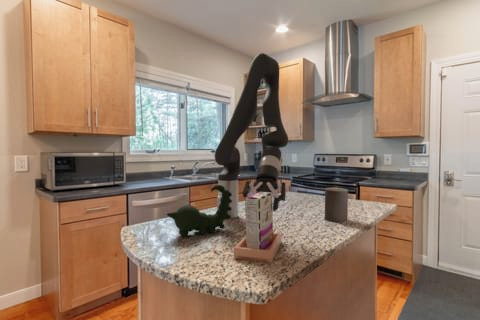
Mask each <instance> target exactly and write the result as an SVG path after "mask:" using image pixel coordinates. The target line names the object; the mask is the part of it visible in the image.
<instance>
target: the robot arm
mask: <svg viewBox="0 0 480 320" xmlns="http://www.w3.org/2000/svg"><path fill="white" fill-rule="evenodd" d="M262 80H263V81H264V84H265V90H266V91H265V95H264V99H263V101H262V115H263V117H262V118H263V124H264V126H265V127H267V128H275V129H276V130H273V131H270V132H265V133H264V134H263V135H262V137H261V144H262V156H261V159H260V162H259V165H258V169H257V174H256V177H255V181H254V182H250V181H249V180H247V181H246V182H245V185H244V187H243V190H242V196H243V198H244V199H245V197H248V196H250V195H253V194H255V193H258V192H271V193H272V199H273V201H272V212H276V211H277V210H278V209H279V205H280V202H281V201H283V202H284V201H286V194H287V192H286V191H287V186H286V182H284V181H283V182H281V183H278V180H279V175H280V168H281V158H282V151H281V149H280V148H286V146H288V143H289V136H288V133H287V132H286V129H285V127H284V124H283V121H282V116H281V110H280V109H281V108H280V97H279V95H280V92H279V91H280V64H279V62H278V61H277V60H276V59H274V57H271V56H269V55H267V54H266V53H263V52H260V53H258V54H257V55H256V56H254V58H253V60H252V61H251V64H250V66H249V69H248V73H247V76H246V80H245V83H244V86H243V89H242V91H241V94H240V95H239V96H240V97H239V99H238V101H237V104H236V106H235V108H234V110H233V113H232V116H231V119H230V120H229V123H228V124H227V127H226V130H225V132H224V134H223V136H222V138H221V140H220V142H219V144H218V145H217V148H216V150H215V152H214V160H215V163H216V164H217V165H219V166H223V168H222V171H220V173H218V174H217V175H218V177H217V179H218V184H217V185H222V186H223V187H224V188H225V190H228V191H229V192H230V193H232V196H230V197H229V198H230V199H231V200H232V202H231V203H229V207H231V208H232V210H230V211H229V210H228V215H230V216H231V218H230V219H235V218H238V217H239V175H240V172H241V171H240V170H241V153H240V150H239V148H238V147H236V145H237V143H238V141H239V139H240V138H241V136H243V134H244V133H246V131H247V130H248V129H249V128H250V126H251V125H252V123H253V120H254V118H255V116H256V114H257V112H258V111H257V110H258V90H259V87H260V85H261V81H262ZM278 188H279V190H280V194H278V192H277V190H278ZM221 197H222V193H221V192H219V191H218V195H217V196H216V211H217V210H218V209H219V204H220V203H221V202H220V199H221Z"/></svg>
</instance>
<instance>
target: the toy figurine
mask: <svg viewBox="0 0 480 320" xmlns="http://www.w3.org/2000/svg"><path fill="white" fill-rule="evenodd" d="M214 191H217V192H218V193H219V192H221V193H222V197H221V199H220V202H221V203H220V204H219V209H218V210H217V209H216V212H215V213H213V214H207V213H205V212H200V210H199V209H198V208H197V207H196V206H194V205H190V204H186V205H182V206H181V207H179V208H178V209H177V210H176V211H173V212H168V213H166V216H168V217H169V218H170V219H172V220H173V221H174V224H175V226H176V228H177V229H178V234H179V235H180V236H181V237H182V238H183V237H184V238H186V237H188V236H189V233H190V232H193V231H196V232H198V233H199V234H200V235H204V234H206V231H207V232H210V233H211V234H215V233H216V229H217V228H219V229H221V230H222V229H224V228H225V225H226V224H224V221H225V220H230V219H232V218H231V216H230V215H228V210H229V211H230V210H232V208H231V207H229V203H231V202H232V200H231V199H230V198H229V197H230V196H232V193H230V192H229V191H228V190H225V188H224V187H223V186H222V185H218V184H215V185H213V186H212V187H211V189H210V192H214Z"/></svg>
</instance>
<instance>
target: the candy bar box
mask: <svg viewBox="0 0 480 320" xmlns="http://www.w3.org/2000/svg"><path fill="white" fill-rule="evenodd" d="M244 199H245V201H244V203H245V206H244V207H245V209H244V210H245V236H246V248H252V249H261V250H265V249H266V248H267V247H268V246H269V245H270V244H271V243H272V242H273V233H274V228H273V227H274V223H273V222H274V220H273V212H274V211H273V197H272V193H271V192H258V193H255V194H253V195H250V196H248V197H245V198H244Z"/></svg>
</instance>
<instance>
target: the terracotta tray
mask: <svg viewBox="0 0 480 320" xmlns="http://www.w3.org/2000/svg"><path fill="white" fill-rule="evenodd" d="M282 235H283V234H282V233H281V232H279V233H278V232H273V242H272V243H271V244H270V245H269V246H268V247H267V248H266V249H265V250H261V249H252V248H246V235H244V237H243V238H242V239H240V241H239V242H238V243H237V244H236V245H235V246H234V247H233V259H236V260H237V259H238V260H245V261H253V262H260V261H261V262H262V261H263V263H269V262H272V263H273V262H274V260H275V259H276V258H275V257H276V256H277V253H278V251H279V249H280V247H281V245H282V242H283V241H282V240H283V238H282V237H283V236H282ZM261 262H260V263H261Z"/></svg>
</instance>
